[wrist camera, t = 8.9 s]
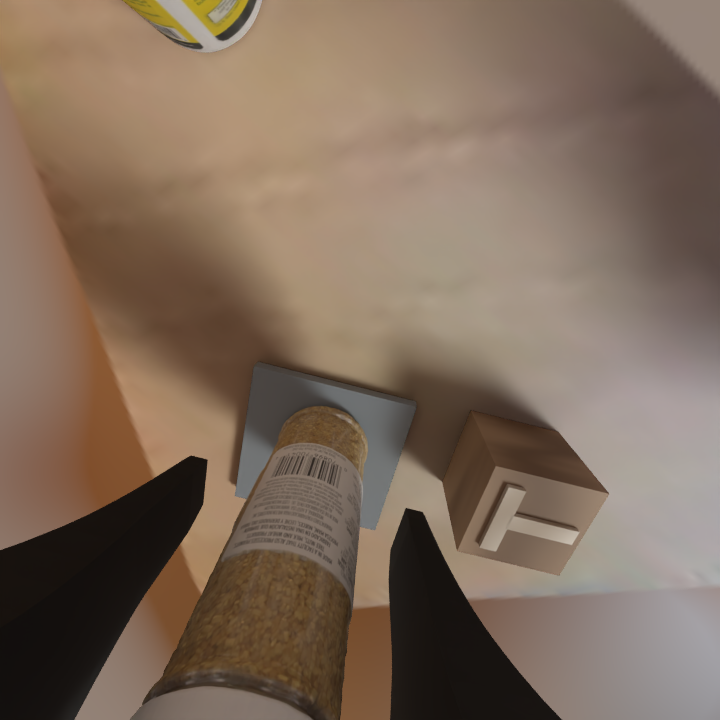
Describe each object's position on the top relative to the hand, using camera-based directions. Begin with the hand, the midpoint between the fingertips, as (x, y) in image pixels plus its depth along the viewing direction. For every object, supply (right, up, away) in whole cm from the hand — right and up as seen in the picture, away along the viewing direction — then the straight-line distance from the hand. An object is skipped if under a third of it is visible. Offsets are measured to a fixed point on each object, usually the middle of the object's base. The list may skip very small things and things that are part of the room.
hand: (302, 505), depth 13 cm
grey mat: (0, 0, +6) cm, 6 cm away
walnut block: (+9, 0, +6) cm, 11 cm away
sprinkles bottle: (0, +1, +6) cm, 6 cm away
